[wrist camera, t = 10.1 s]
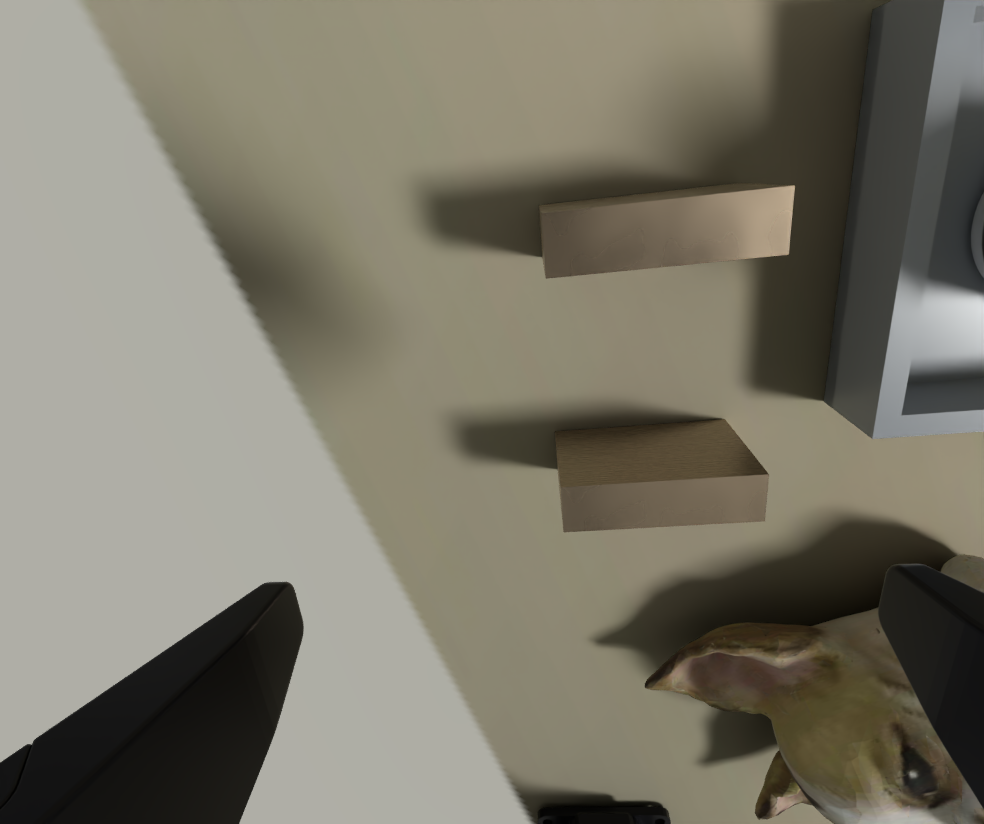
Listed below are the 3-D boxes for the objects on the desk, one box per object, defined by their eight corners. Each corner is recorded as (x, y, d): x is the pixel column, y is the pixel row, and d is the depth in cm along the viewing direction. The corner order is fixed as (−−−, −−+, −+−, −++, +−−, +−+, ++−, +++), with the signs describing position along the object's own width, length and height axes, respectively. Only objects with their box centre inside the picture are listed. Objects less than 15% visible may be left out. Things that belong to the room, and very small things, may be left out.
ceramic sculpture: (1375, 904, 15) (817, 1001, 20) (1095, 646, 23) (746, 762, 28) (1278, 644, 12) (657, 833, 17) (996, 451, 20) (627, 620, 25)
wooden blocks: (722, 459, 21) (764, 521, 17) (557, 470, 21) (563, 531, 18) (737, 183, 17) (795, 185, 13) (538, 205, 18) (541, 213, 14)
